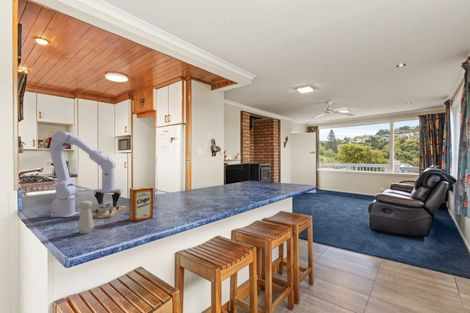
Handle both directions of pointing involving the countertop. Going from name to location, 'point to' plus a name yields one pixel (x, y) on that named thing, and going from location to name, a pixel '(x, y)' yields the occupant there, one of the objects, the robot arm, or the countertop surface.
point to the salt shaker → (85, 218)
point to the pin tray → (111, 213)
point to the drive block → (105, 207)
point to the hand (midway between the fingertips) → (107, 206)
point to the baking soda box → (141, 203)
